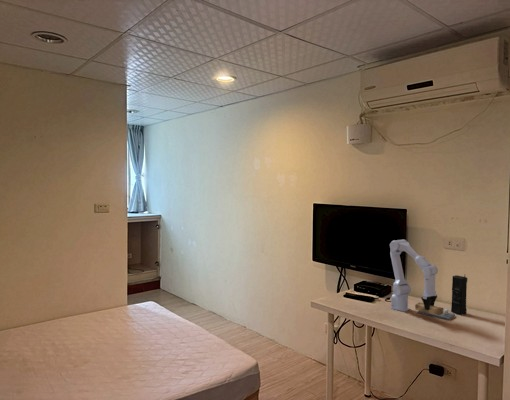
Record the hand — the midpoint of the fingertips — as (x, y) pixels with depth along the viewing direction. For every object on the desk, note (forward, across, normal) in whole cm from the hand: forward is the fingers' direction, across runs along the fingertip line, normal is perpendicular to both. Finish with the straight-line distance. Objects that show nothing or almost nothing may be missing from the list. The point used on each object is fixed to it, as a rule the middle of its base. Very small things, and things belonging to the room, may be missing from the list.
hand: (429, 308), depth 219 cm
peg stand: (+6, +11, 0) cm, 13 cm away
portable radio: (+7, +24, -8) cm, 26 cm away
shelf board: (+2, 0, 0) cm, 2 cm away
